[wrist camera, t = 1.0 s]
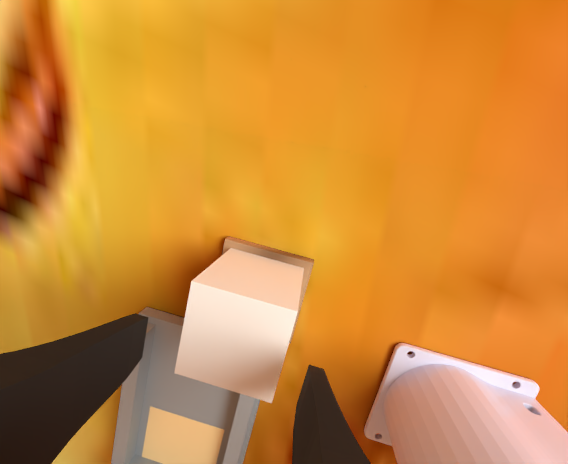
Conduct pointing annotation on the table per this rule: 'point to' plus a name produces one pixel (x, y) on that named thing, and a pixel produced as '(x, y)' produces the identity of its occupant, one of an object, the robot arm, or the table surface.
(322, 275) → the table surface
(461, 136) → the table surface
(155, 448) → the tray
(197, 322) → the block
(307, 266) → the stand
